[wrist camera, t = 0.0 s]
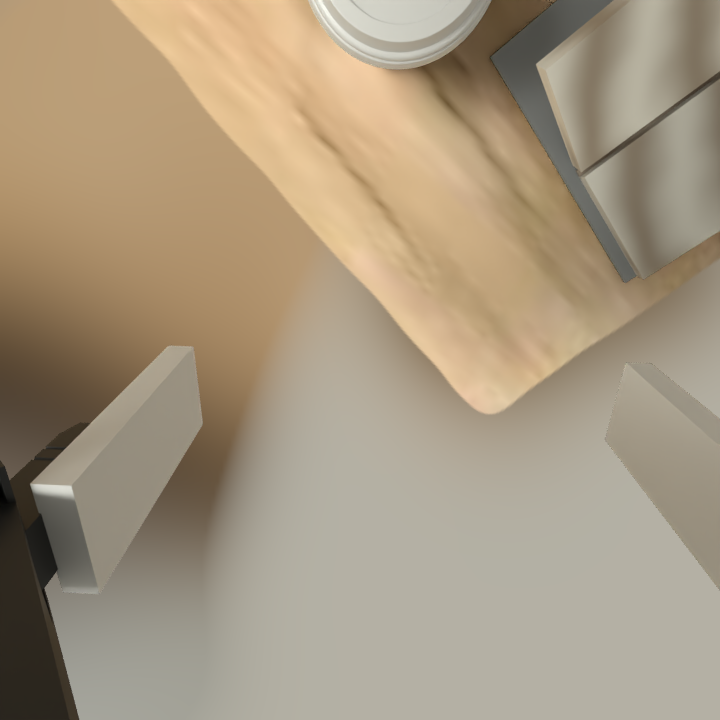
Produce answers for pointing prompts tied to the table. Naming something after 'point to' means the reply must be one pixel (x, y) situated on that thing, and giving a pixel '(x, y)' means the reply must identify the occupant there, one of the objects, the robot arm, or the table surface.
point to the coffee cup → (398, 28)
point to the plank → (628, 70)
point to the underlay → (525, 84)
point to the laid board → (663, 182)
